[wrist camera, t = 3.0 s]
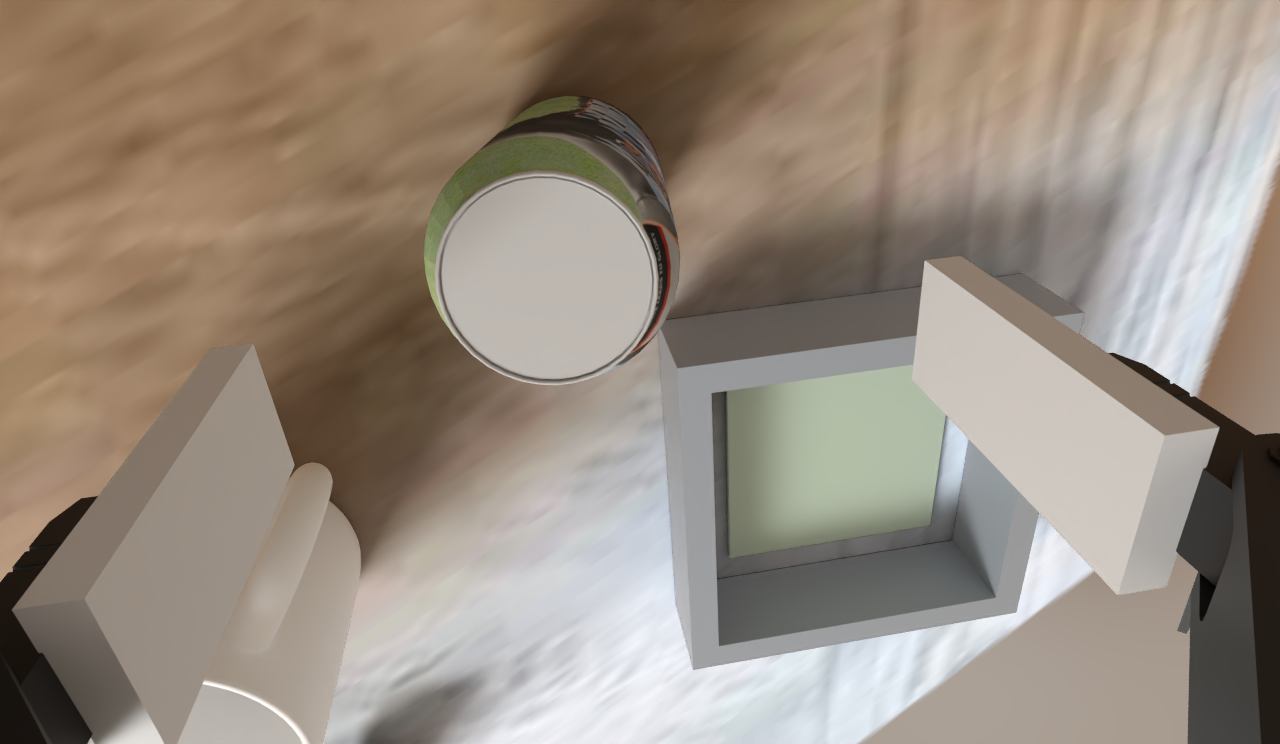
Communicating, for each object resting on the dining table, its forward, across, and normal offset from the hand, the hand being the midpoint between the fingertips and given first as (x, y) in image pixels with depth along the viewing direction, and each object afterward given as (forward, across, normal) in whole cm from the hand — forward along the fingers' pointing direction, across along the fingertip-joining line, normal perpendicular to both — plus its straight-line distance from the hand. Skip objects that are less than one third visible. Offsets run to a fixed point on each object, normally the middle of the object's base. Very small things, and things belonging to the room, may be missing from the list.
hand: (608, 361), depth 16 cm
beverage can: (+14, 0, 0) cm, 14 cm away
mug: (+14, -13, -12) cm, 23 cm away
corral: (+14, +11, -14) cm, 22 cm away
